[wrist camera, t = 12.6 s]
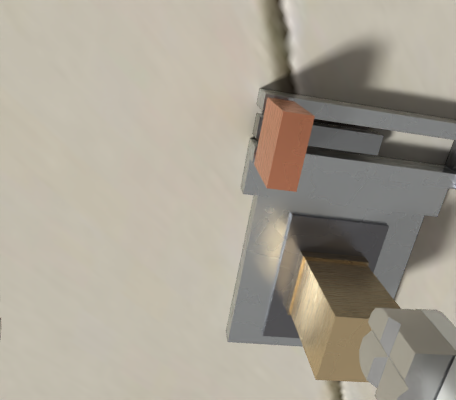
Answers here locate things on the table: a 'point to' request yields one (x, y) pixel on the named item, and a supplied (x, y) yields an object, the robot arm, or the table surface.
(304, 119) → the lever
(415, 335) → the robot arm
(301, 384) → the table surface
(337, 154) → the gray slotted base plate
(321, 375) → the tan wooden block
